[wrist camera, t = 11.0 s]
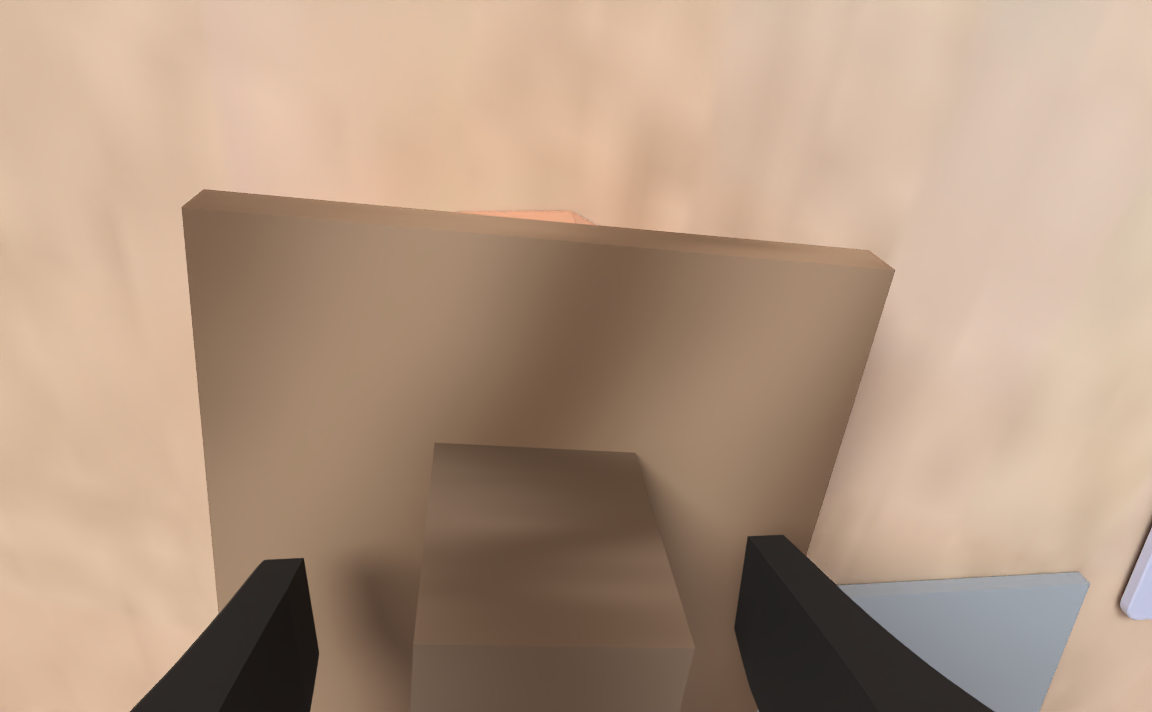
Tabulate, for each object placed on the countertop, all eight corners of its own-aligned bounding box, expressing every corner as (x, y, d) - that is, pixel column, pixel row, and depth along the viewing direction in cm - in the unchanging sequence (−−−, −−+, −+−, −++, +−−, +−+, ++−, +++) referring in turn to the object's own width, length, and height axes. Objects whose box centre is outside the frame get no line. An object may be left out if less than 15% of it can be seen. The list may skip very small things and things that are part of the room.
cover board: (868, 250, 14) (1077, 406, 9) (736, 698, 19) (827, 962, 14) (203, 189, 12) (17, 338, 7) (242, 697, 17) (145, 994, 12)
